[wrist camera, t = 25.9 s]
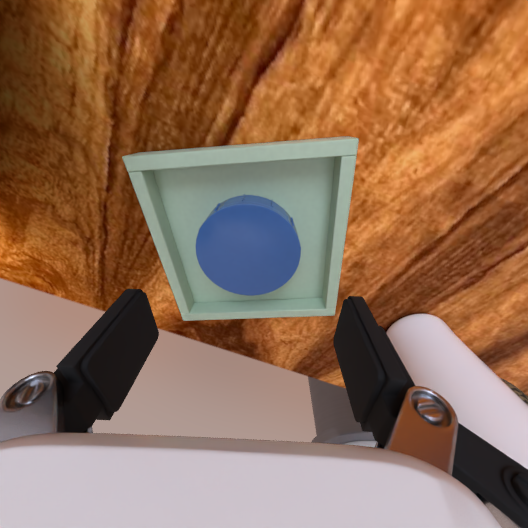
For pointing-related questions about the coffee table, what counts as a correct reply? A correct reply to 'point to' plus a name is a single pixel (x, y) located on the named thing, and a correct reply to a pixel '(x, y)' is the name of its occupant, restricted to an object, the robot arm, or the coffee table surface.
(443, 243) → the coffee table surface
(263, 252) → the lid
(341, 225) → the tray
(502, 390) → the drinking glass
